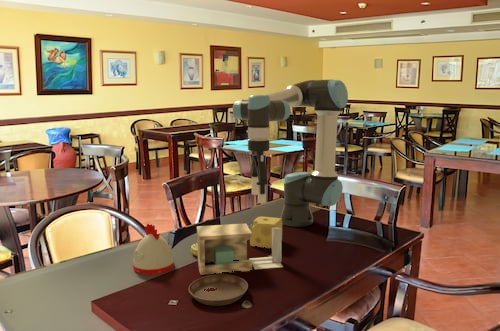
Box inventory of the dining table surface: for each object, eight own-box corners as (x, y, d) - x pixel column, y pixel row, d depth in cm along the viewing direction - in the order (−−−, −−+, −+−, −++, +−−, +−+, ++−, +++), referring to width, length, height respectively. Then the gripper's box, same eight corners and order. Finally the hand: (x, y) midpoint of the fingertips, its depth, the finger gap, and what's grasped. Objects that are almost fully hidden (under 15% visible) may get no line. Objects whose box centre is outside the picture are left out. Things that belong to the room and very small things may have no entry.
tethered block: (279, 257, 165) (279, 226, 163) (283, 264, 159) (283, 231, 157) (214, 262, 161) (213, 230, 159) (216, 269, 155) (215, 235, 153)
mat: (275, 256, 167) (275, 256, 167) (282, 267, 157) (282, 266, 157) (249, 258, 165) (249, 258, 165) (254, 269, 155) (254, 268, 155)
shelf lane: (246, 258, 166) (245, 223, 164) (252, 270, 154) (252, 233, 152) (197, 261, 162) (196, 226, 160) (200, 274, 151) (199, 236, 149)
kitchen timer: (159, 256, 169) (158, 217, 166) (181, 266, 159) (180, 224, 156) (125, 266, 159) (123, 225, 156) (147, 277, 149) (145, 233, 147)
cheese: (249, 246, 179) (249, 221, 177) (259, 238, 188) (259, 214, 187) (274, 249, 175) (274, 224, 173) (283, 241, 185) (283, 217, 183)
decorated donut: (223, 256, 168) (223, 246, 168) (195, 260, 164) (195, 250, 164) (214, 247, 178) (214, 238, 177) (188, 251, 174) (187, 241, 173)
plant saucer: (199, 314, 125) (198, 304, 125) (182, 289, 141) (181, 279, 141) (257, 302, 132) (257, 292, 132) (234, 279, 148) (234, 270, 148)
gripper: (243, 136, 171) (243, 191, 174) (253, 143, 147) (253, 207, 150) (262, 136, 172) (262, 190, 175) (276, 143, 148) (276, 206, 151)
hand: (258, 198), depth 163 cm, fingers open, 13 cm apart
